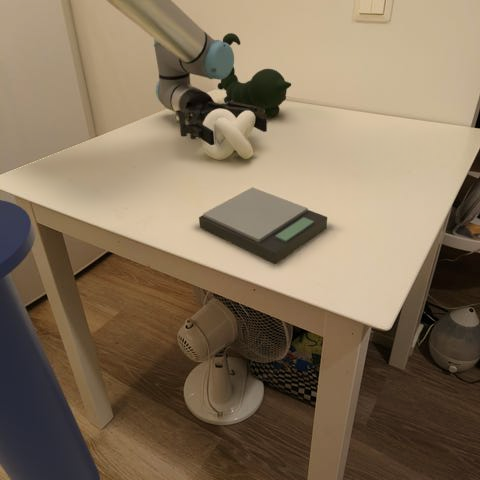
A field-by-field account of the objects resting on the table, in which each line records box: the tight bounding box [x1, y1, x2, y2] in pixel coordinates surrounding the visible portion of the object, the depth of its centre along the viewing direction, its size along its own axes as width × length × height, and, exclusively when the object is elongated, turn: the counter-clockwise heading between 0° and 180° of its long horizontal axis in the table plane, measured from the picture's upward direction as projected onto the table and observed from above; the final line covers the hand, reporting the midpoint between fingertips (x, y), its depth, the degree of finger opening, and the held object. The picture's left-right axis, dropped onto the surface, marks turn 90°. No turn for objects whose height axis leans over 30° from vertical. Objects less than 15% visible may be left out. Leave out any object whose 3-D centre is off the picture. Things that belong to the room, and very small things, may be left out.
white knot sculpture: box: [200, 109, 255, 161], centre depth 95 cm, size 11×12×9 cm
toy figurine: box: [217, 32, 292, 119], centre depth 114 cm, size 9×19×25 cm
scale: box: [198, 186, 328, 265], centre depth 72 cm, size 16×13×3 cm
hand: (239, 131), depth 91 cm, fingers closed on white knot sculpture, 12 cm apart
